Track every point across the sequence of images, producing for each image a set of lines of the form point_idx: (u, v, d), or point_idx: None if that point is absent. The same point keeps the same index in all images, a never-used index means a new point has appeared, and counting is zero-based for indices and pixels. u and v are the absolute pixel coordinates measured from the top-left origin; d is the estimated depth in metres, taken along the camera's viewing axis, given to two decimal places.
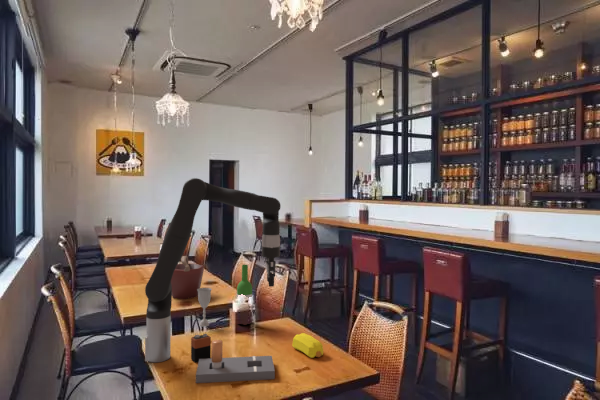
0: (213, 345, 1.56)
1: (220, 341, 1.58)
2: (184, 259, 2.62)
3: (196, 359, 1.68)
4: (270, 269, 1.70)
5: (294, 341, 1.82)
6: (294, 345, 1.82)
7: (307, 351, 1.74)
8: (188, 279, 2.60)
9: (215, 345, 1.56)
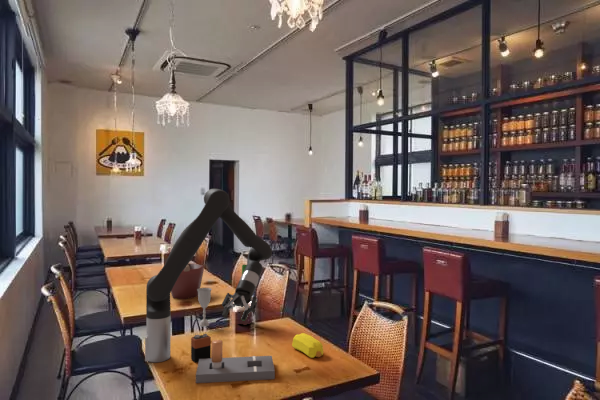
0: (213, 345, 1.56)
1: (220, 341, 1.58)
2: None
3: (196, 359, 1.68)
4: (254, 303, 1.70)
5: (294, 341, 1.82)
6: (294, 345, 1.82)
7: (307, 351, 1.74)
8: (188, 279, 2.60)
9: (215, 345, 1.56)
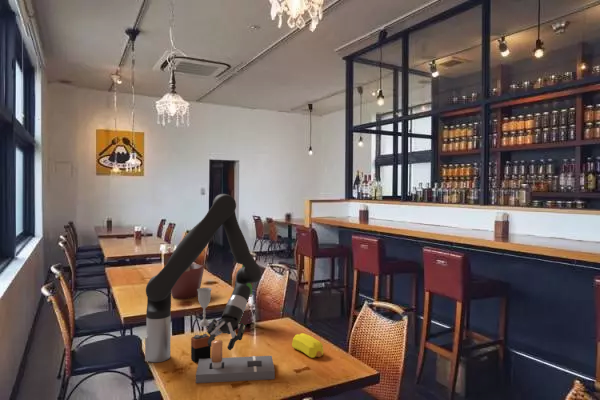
0: (213, 345, 1.56)
1: (220, 341, 1.58)
2: None
3: (196, 359, 1.68)
4: (241, 330, 1.61)
5: (294, 341, 1.82)
6: (294, 345, 1.82)
7: (307, 351, 1.74)
8: (188, 279, 2.60)
9: (215, 345, 1.56)
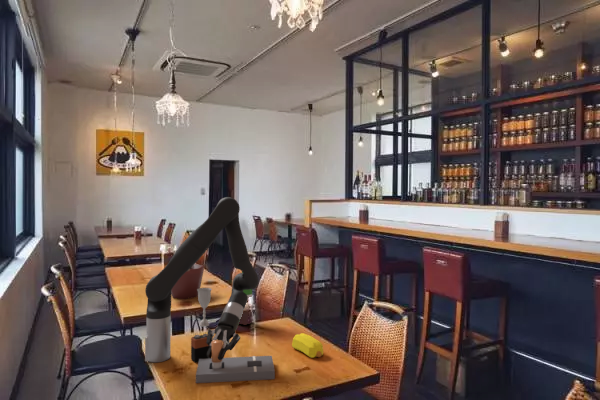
0: (213, 345, 1.56)
1: (220, 341, 1.58)
2: None
3: (196, 359, 1.68)
4: (234, 341, 1.58)
5: (294, 341, 1.82)
6: (294, 345, 1.82)
7: (307, 351, 1.74)
8: (188, 279, 2.60)
9: (215, 345, 1.56)
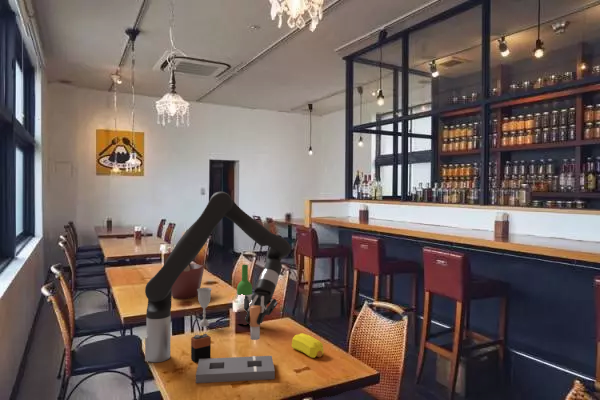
0: (252, 310, 1.58)
1: (258, 306, 1.60)
2: None
3: (196, 359, 1.68)
4: (272, 306, 1.60)
5: (293, 341, 1.82)
6: (294, 345, 1.81)
7: (308, 351, 1.74)
8: (188, 279, 2.60)
9: (254, 310, 1.58)
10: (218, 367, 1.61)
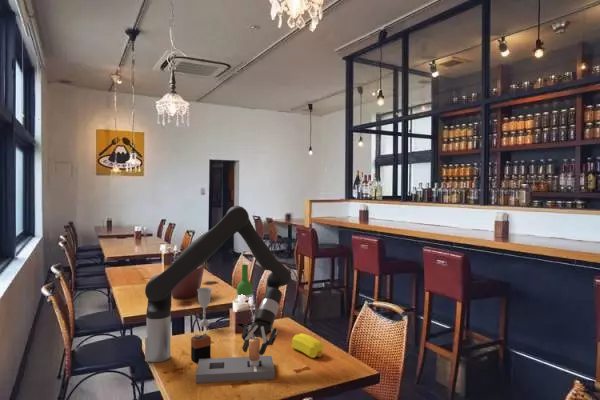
0: (251, 343, 1.59)
1: (257, 339, 1.60)
2: None
3: (196, 359, 1.68)
4: (274, 336, 1.60)
5: (293, 341, 1.82)
6: (293, 346, 1.81)
7: (308, 351, 1.74)
8: (188, 279, 2.60)
9: (253, 343, 1.58)
10: (218, 367, 1.61)
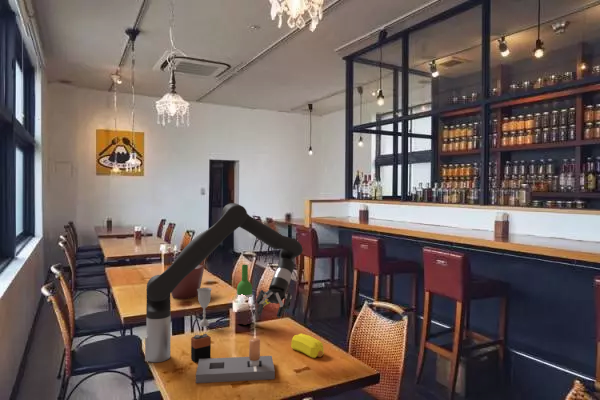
0: (251, 343, 1.59)
1: (258, 339, 1.60)
2: None
3: (196, 359, 1.68)
4: (289, 300, 1.72)
5: (293, 342, 1.82)
6: (293, 346, 1.81)
7: (309, 351, 1.74)
8: (188, 279, 2.60)
9: (253, 343, 1.58)
10: (218, 367, 1.61)
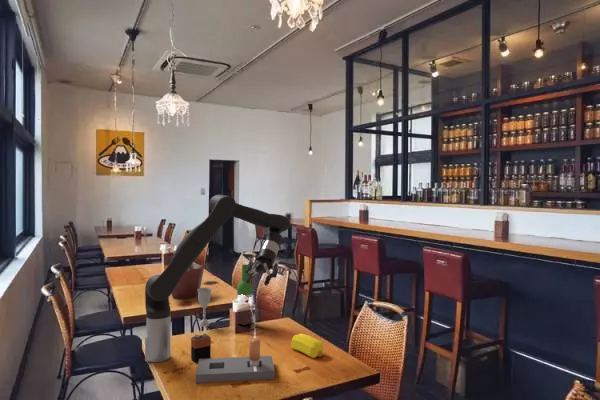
0: (251, 343, 1.59)
1: (258, 339, 1.60)
2: None
3: (196, 359, 1.68)
4: (276, 269, 1.82)
5: (293, 342, 1.81)
6: (293, 346, 1.81)
7: (309, 351, 1.74)
8: (188, 279, 2.60)
9: (253, 343, 1.58)
10: (218, 367, 1.61)
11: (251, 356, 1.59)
